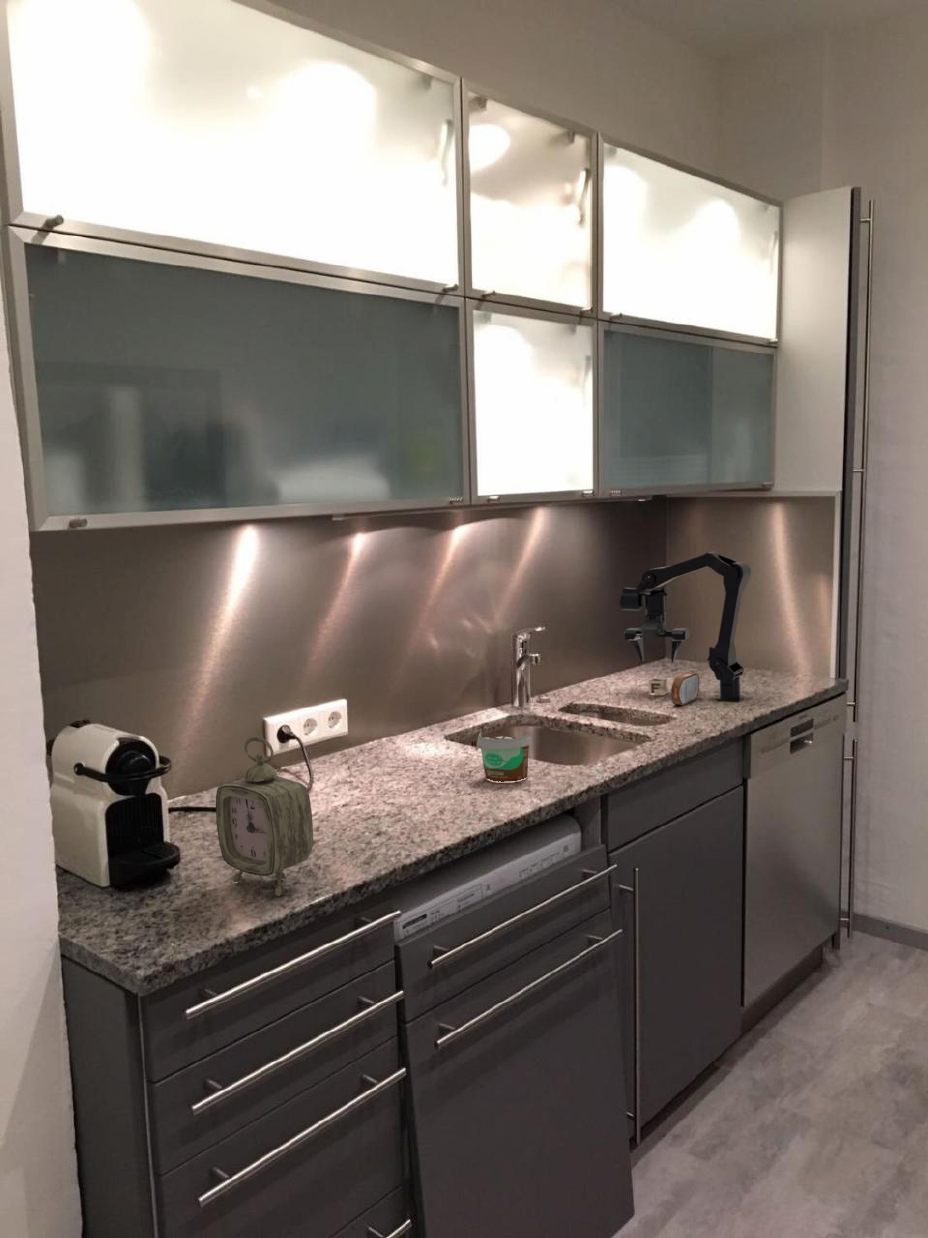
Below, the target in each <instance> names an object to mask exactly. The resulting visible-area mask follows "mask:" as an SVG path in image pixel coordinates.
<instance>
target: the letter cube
mask: <svg viewBox="0 0 928 1238" xmlns="http://www.w3.org/2000/svg"><path fill="white" fill-rule="evenodd" d="M647 684H648V694H649V693H655V694H664V693H666V692H667V691H668V689H669V688H668V678H654V677H653V678H650V679H649V680H648V683H647Z"/></svg>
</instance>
